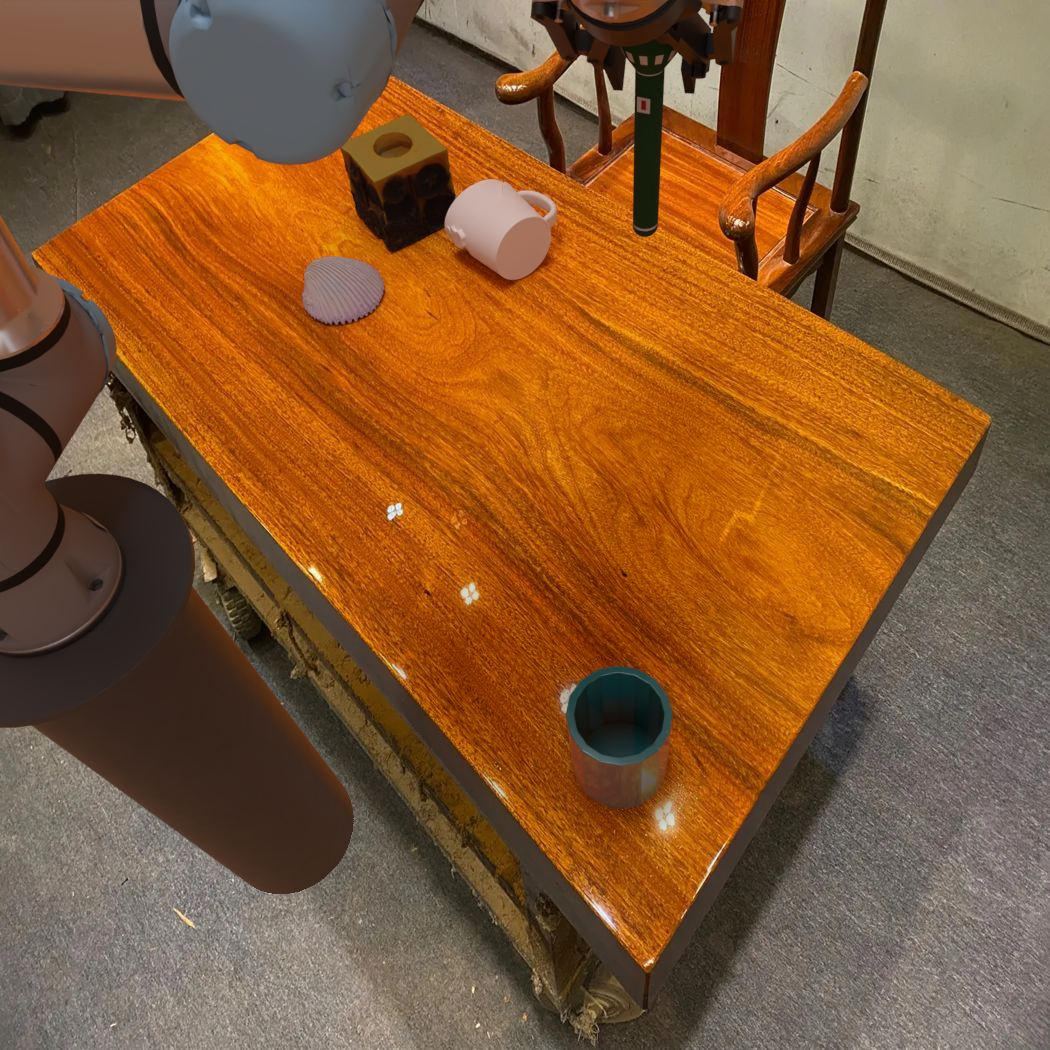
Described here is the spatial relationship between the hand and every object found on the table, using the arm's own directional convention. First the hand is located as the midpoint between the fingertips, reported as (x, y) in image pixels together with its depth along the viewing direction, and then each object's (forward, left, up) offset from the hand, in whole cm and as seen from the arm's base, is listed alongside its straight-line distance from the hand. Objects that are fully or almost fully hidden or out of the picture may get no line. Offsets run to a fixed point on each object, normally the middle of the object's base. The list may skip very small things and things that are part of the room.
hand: (655, 73), depth 74 cm
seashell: (-23, +30, -32) cm, 49 cm away
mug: (-3, +24, -32) cm, 40 cm away
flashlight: (-3, -3, -12) cm, 13 cm away
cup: (-29, -35, -32) cm, 55 cm away
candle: (-10, +38, -32) cm, 51 cm away
